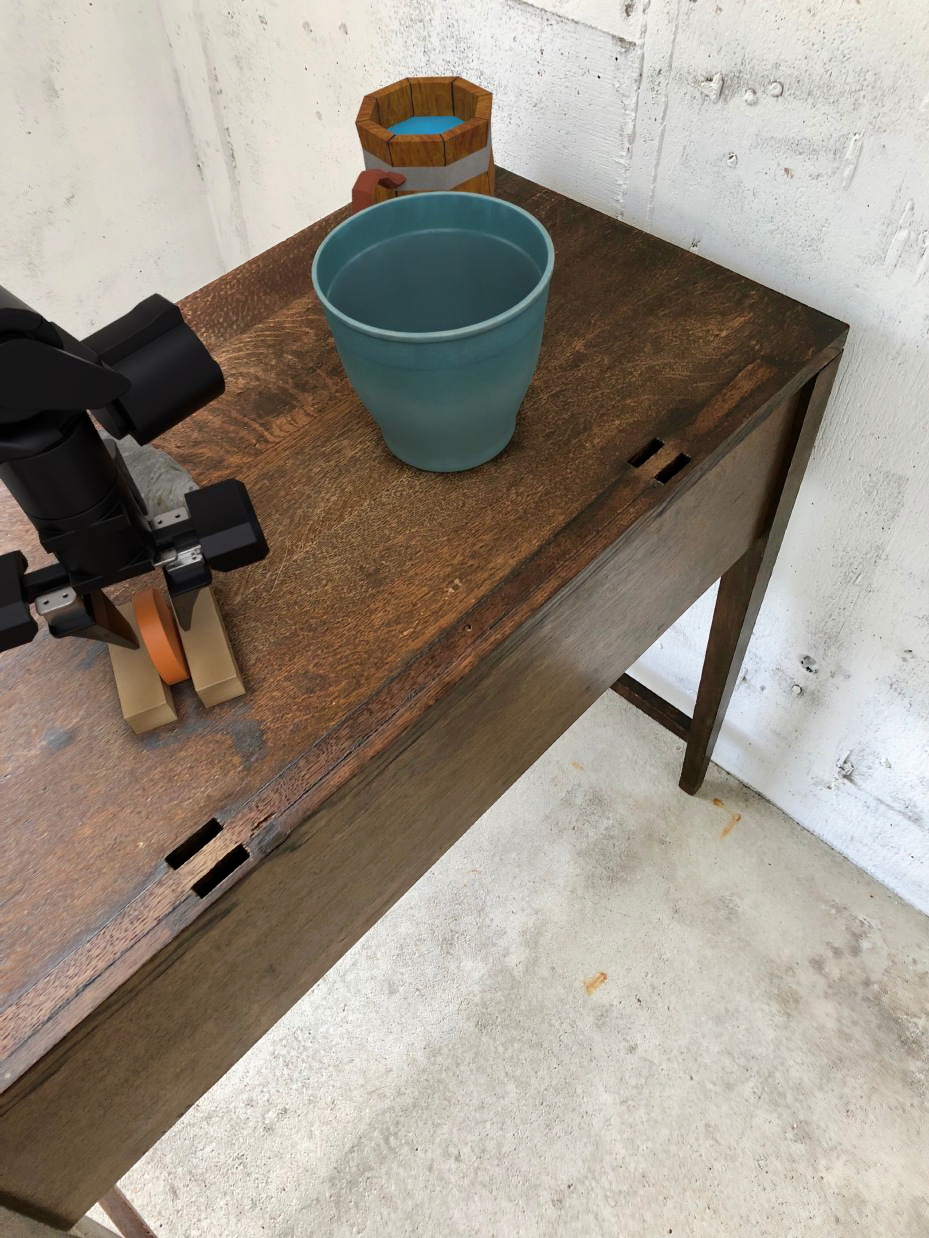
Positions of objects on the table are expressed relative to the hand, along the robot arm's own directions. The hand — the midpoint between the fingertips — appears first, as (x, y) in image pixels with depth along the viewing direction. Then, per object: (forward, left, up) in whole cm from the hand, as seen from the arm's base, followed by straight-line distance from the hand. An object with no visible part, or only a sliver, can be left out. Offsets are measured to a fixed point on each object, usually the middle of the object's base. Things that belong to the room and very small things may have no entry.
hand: (161, 635), depth 63 cm
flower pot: (+28, +14, -4) cm, 32 cm away
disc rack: (0, 0, -4) cm, 4 cm away
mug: (+35, +38, -4) cm, 52 cm away
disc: (0, 0, -4) cm, 4 cm away
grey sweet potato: (+1, +18, -4) cm, 18 cm away
